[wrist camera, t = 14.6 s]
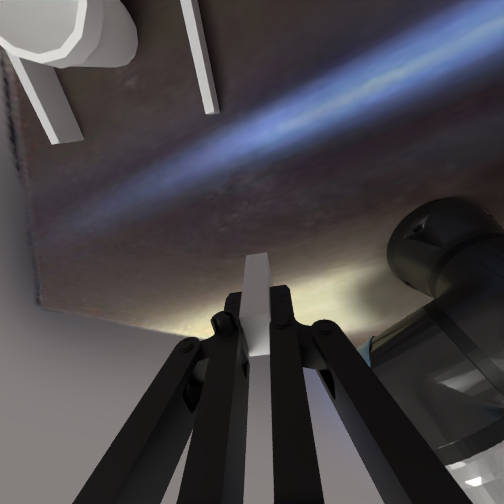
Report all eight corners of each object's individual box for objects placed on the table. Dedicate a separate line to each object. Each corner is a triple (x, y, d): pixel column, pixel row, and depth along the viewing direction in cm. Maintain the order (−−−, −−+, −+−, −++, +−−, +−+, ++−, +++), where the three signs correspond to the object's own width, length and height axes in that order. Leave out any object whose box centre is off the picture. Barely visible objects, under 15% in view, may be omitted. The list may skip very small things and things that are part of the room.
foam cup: (104, -47, 27) (-12, -171, 15) (168, 43, 30) (112, -3, 19) (51, 24, 29) (-80, -35, 18) (115, 99, 33) (39, 90, 21)
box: (220, 112, 33) (214, 112, 29) (77, 141, 35) (51, 144, 31) (184, -65, 26) (169, -102, 22) (7, -17, 28) (-40, -43, 23)
